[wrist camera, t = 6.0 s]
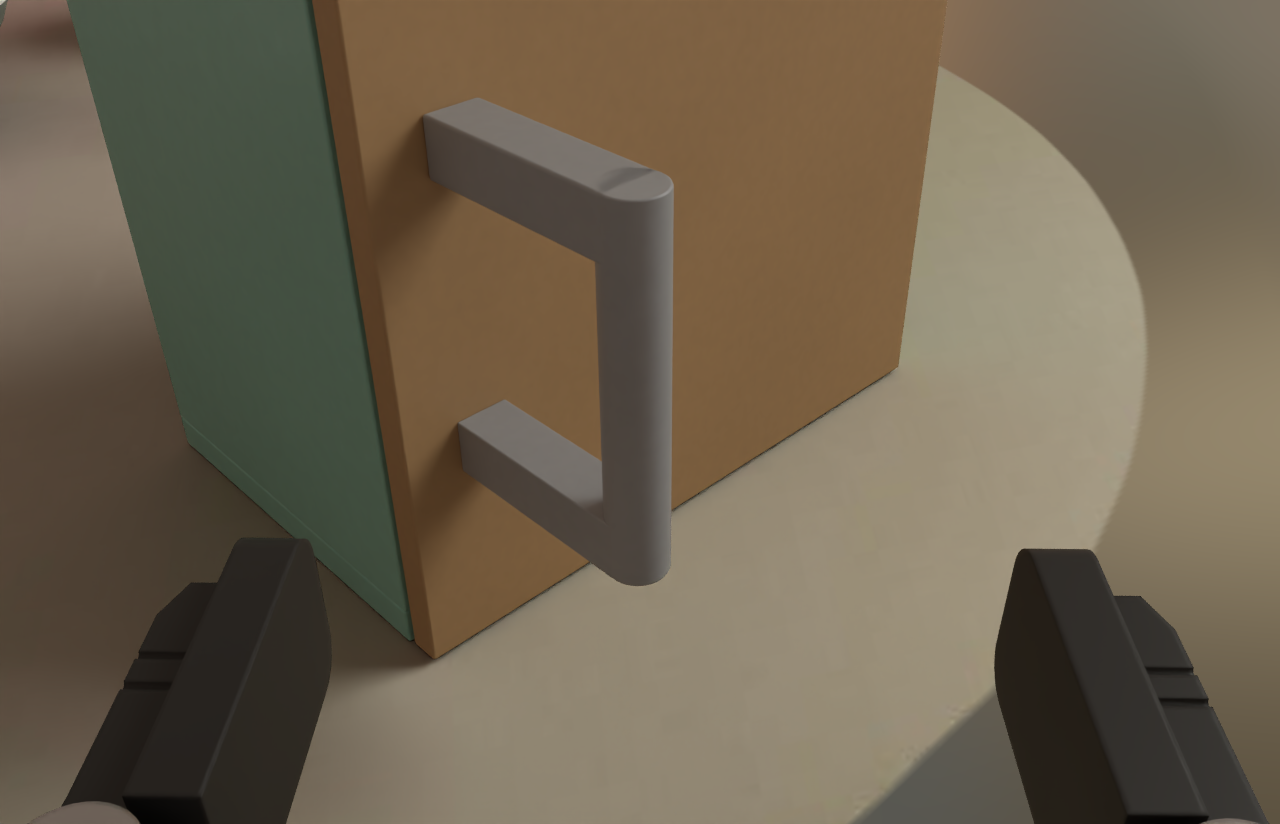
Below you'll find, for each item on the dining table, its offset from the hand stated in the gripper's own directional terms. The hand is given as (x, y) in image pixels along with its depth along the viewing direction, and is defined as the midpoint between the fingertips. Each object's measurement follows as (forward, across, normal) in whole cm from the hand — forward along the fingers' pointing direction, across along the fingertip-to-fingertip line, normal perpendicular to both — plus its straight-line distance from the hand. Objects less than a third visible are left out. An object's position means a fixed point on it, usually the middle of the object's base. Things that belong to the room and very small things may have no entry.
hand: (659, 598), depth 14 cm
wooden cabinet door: (+20, -3, +16) cm, 26 cm away
